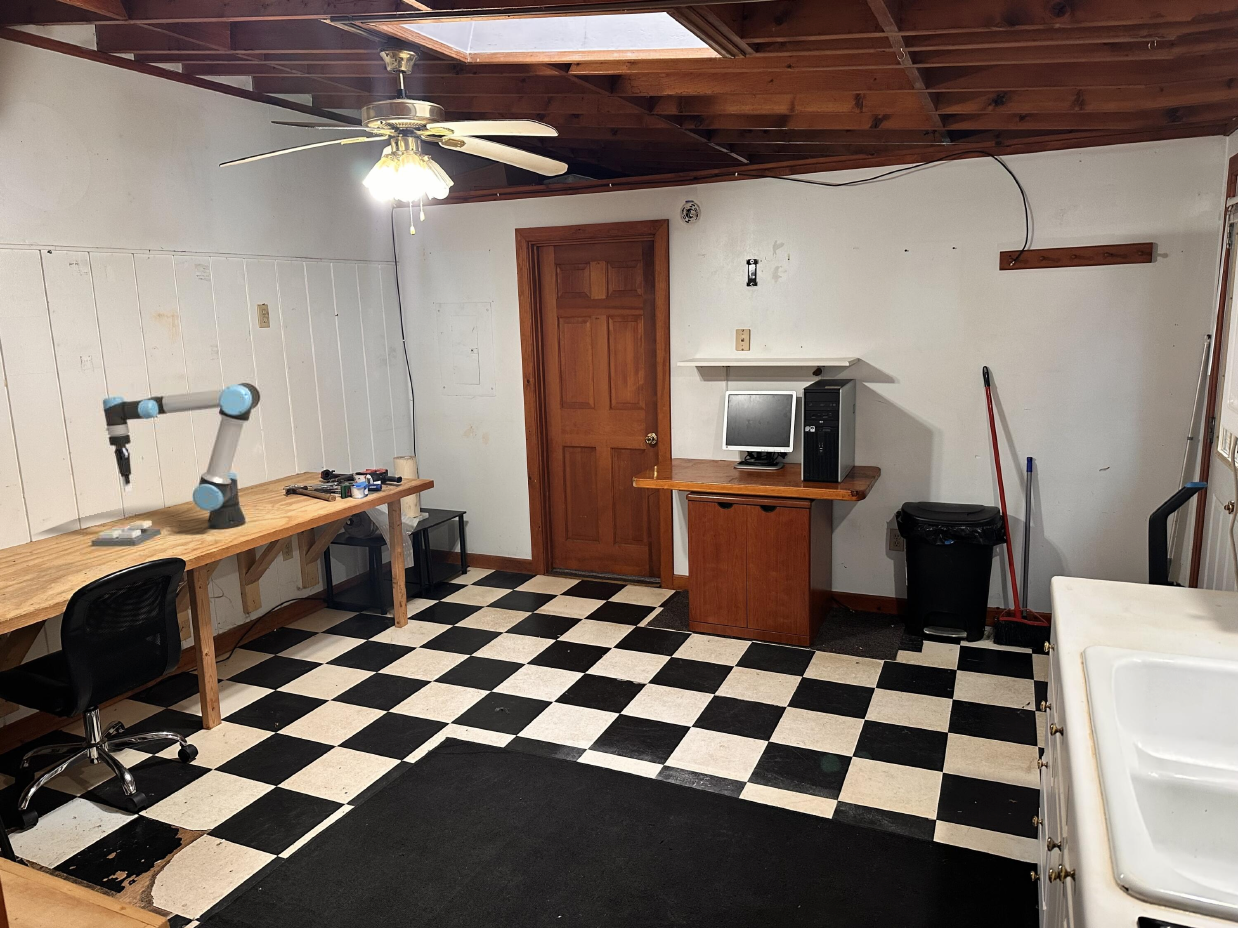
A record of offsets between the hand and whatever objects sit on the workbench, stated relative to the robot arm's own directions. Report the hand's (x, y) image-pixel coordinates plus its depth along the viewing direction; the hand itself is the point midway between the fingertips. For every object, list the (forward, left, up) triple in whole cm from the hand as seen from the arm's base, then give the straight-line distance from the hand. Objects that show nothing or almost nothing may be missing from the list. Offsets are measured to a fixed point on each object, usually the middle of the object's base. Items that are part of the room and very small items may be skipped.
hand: (128, 491), depth 357 cm
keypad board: (-1, +6, -19) cm, 20 cm away
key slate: (-5, +10, -19) cm, 22 cm away
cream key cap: (-5, +2, -17) cm, 18 cm away
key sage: (+3, +10, -19) cm, 21 cm away
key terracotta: (+3, +2, -19) cm, 19 cm away
